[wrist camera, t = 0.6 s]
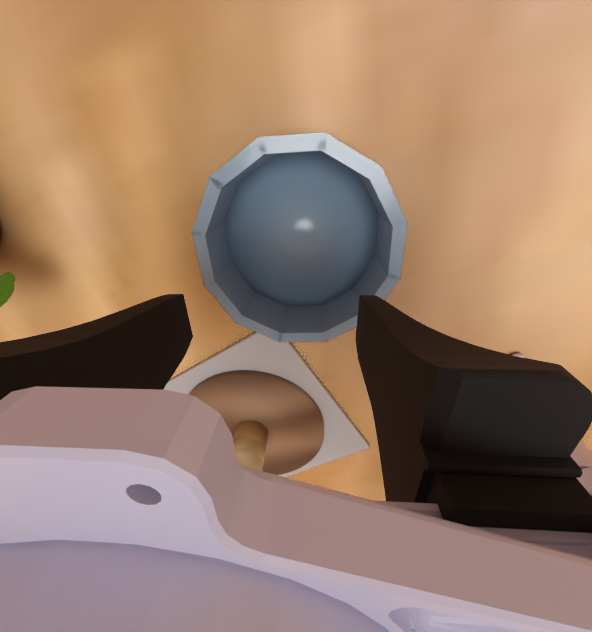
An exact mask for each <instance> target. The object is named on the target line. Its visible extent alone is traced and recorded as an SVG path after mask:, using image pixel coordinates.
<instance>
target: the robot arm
mask: <svg viewBox="0 0 592 632" xmlns="http://www.w3.org/2000/svg"><path fill="white" fill-rule="evenodd" d="M192 337H193V335H192V331H191V326H190V322H189V317H188V313H187V309H186V304H185V300H184V295H183V294H168V295H163V296H160V297H156V298H153V299H151V300H148V301H145V302H143V303H140V304H137V305H135V306H132V307H130V308H127V309H124V310H122V311H119V312H116V313H113V314H111V315H108V316H105V317H102V318H100V319H97V320H94V321H91V322H87V323H84V324H81V325H77V326H74V327H70V328H67V329H63V330H59V331H55V332H50V333H46V334H41V335H37V336H32V337H28V338H23V339H17V340H12V341H6V342H0V632H592V450H591V449H590V448H589V447H588V446H587V445H586V444H585V443H584V442H583V441H582V440H581V439H582V437H583V436H584V434H585V433H586V431H587V430H588V428H589V427H590V424H591V422H592V393H591V391H590V390H589V389H588V388H586V387H585V386H584V385H583V384H582V383H581V382H579V381H578V380H577V379H576V378H575V377H574V376H573V375H571V374H570V373H569V372H568V371H567V370H566V369H564V368H563V367H562V366H561V365H558V364H553V363H548V362H542V361H537V360H532V359H527V358H525V356H524V355H522V354H520V353H517V354H513V355H508V354H504V353H500V352H496V351H492V350H489V349H485V348H482V347H478V346H475V345H472V344H469V343H466V342H463V341H460V340H457V339H455V338H452V337H450V336H447V335H445V334H442V333H440V332H438V331H436V330H433V329H431V328H429V327H427V326H425V325H423V324H421V323H420V322H418V321H416V320H414V319H412V318H411V317H409V316H407V315H406V314H404V313H402V312H401V311H399V310H398V309H396V308H395V307H393V306H392V305H390V304H389V303H387V302H386V301H384V300H383V299H381V298H380V297H378V296H376V295H360V296H359V307H358V318H357V329H356V346H357V353H358V360H359V363H360V367H361V370H362V374H363V377H364V381H365V384H366V388H367V391H368V395H369V398H370V402H371V406H372V410H373V415H374V421H375V427H376V433H377V439H378V446H379V452H380V459H381V466H382V473H383V480H384V488H385V495H386V501H372V500H368V499H365V498H361V497H357V496H353V495H350V494H346V493H342V492H338V491H335V490H331V489H327V488H323V487H320V486H316V485H312V484H308V483H305V482H301V481H297V480H293V479H290V478H286V477H282V476H278V475H275V474H271V473H267V472H263V471H260V470H256V469H252V468H248V467H245V466H241V465H240V464H239V462H238V460H237V457H236V454H235V448H234V443H233V438H232V434H231V432H230V430H229V428H228V427H227V425H226V423H225V421H224V419H223V418H222V416H221V414H220V413H219V412H218V411H217V410H215V409H214V408H212V407H211V406H209V405H208V404H206V403H205V402H203V401H202V400H200V399H199V398H197V397H196V396H192V395H187V394H183V393H178V392H174V391H169V390H163V389H164V388H165V386H166V384H167V383H168V381H169V380H170V378H171V377H172V375H173V374H174V372H175V370H176V369H177V367H178V366H179V364H180V362H181V361H182V359H183V358H184V356H185V354H186V352H187V349H188V347H189V345H190V342H191V340H192Z"/></svg>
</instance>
